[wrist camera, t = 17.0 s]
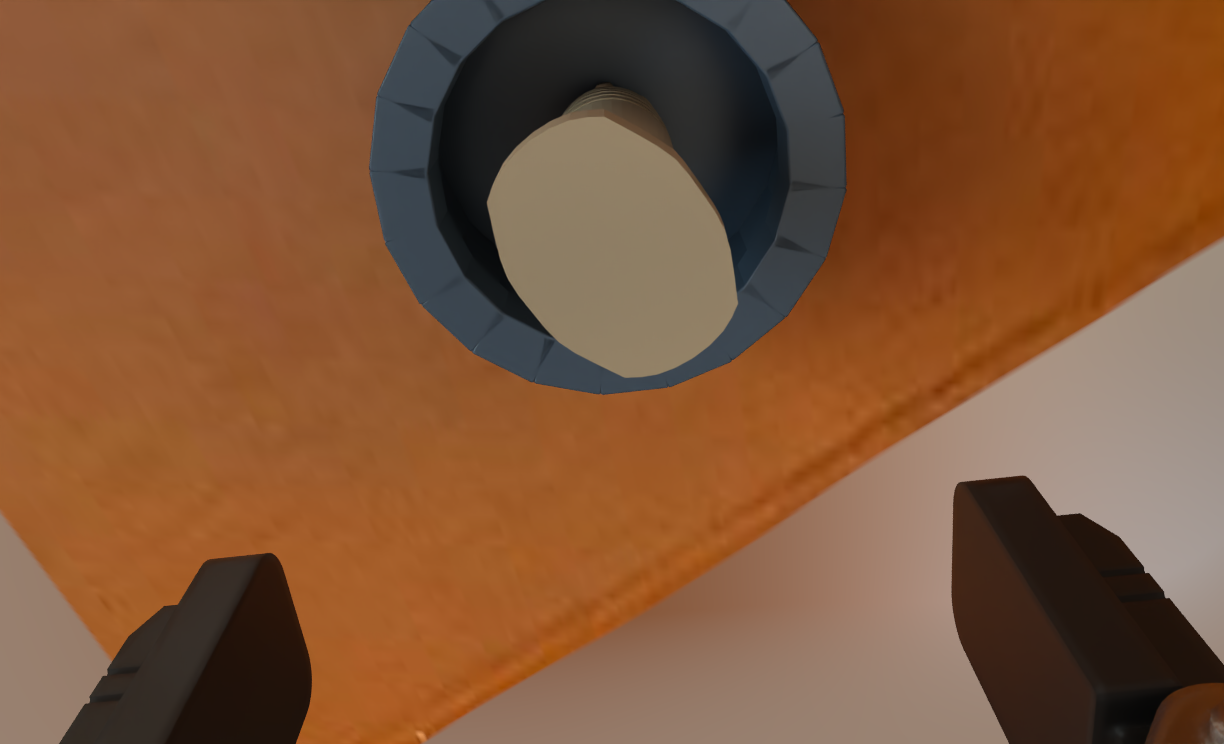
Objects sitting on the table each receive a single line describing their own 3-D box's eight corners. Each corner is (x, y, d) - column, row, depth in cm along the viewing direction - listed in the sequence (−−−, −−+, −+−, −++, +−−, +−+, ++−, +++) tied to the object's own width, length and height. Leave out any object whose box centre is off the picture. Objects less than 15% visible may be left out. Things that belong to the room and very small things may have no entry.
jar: (383, -55, 35) (322, -43, 28) (787, -107, 35) (840, -111, 27) (456, 319, 41) (421, 415, 33) (804, 279, 40) (851, 368, 33)
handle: (608, 233, 39) (611, 411, 25) (503, 92, 37) (444, 203, 23) (715, 159, 38) (778, 302, 24) (613, 9, 36) (619, 74, 22)
